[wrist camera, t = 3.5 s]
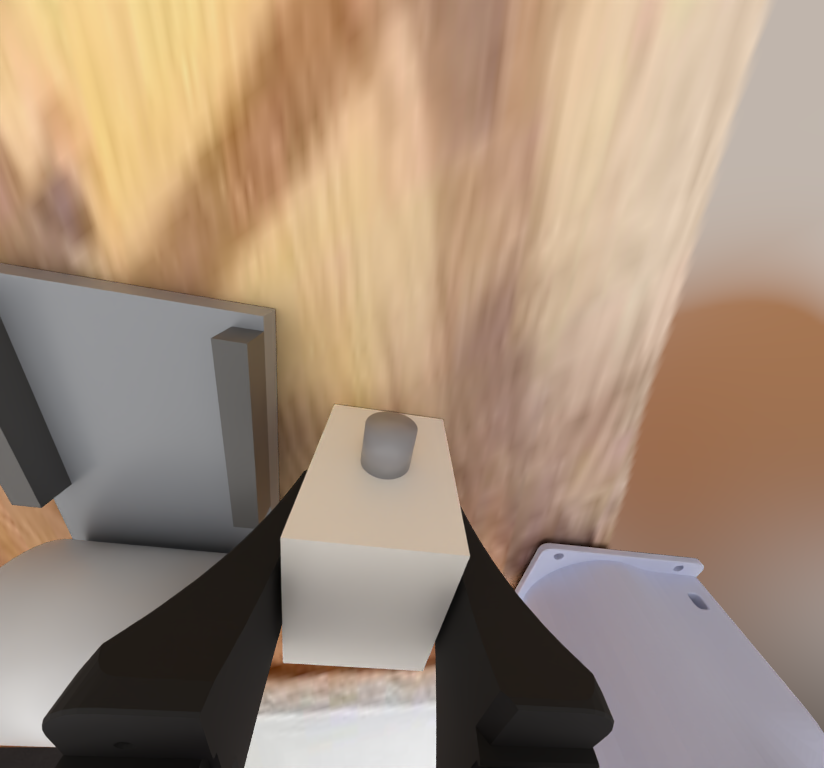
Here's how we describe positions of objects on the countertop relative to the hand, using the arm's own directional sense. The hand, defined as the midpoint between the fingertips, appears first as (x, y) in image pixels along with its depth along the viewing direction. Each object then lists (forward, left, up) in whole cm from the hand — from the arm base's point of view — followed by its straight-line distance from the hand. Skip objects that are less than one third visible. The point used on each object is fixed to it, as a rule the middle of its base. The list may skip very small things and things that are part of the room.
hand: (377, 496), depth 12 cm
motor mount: (+9, +2, -2) cm, 9 cm away
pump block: (0, 0, -2) cm, 2 cm away
